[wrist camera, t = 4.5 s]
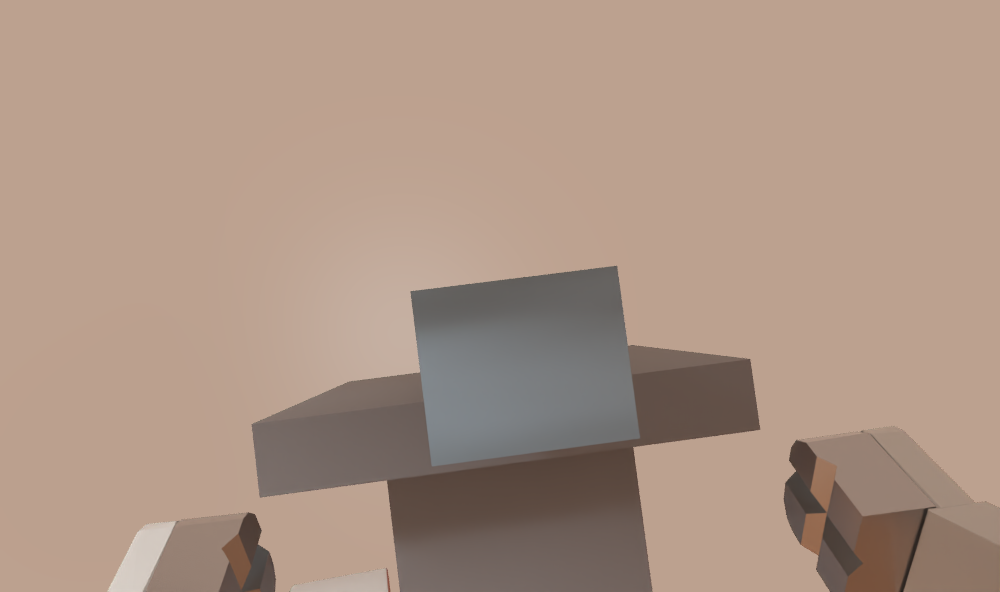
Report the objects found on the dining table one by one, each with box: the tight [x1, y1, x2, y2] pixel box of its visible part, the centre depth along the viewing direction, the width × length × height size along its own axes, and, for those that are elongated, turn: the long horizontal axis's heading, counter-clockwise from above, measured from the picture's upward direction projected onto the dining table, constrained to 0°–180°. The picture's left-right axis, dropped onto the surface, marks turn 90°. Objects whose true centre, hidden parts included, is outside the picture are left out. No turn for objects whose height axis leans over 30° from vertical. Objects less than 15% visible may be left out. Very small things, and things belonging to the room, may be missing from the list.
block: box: [411, 266, 640, 466], centre depth 20 cm, size 22×3×2 cm, turn 2°
